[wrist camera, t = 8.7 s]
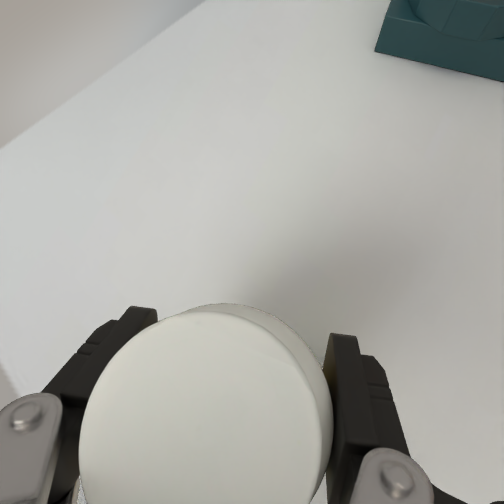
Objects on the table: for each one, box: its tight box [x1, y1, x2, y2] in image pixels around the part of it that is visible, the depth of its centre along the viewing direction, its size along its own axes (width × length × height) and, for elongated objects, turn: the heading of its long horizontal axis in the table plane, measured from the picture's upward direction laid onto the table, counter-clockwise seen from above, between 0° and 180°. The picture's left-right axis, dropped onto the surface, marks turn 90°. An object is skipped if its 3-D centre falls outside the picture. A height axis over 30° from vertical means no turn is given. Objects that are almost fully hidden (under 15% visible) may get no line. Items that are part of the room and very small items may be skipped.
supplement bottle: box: [79, 303, 334, 504], centre depth 10 cm, size 5×5×10 cm
